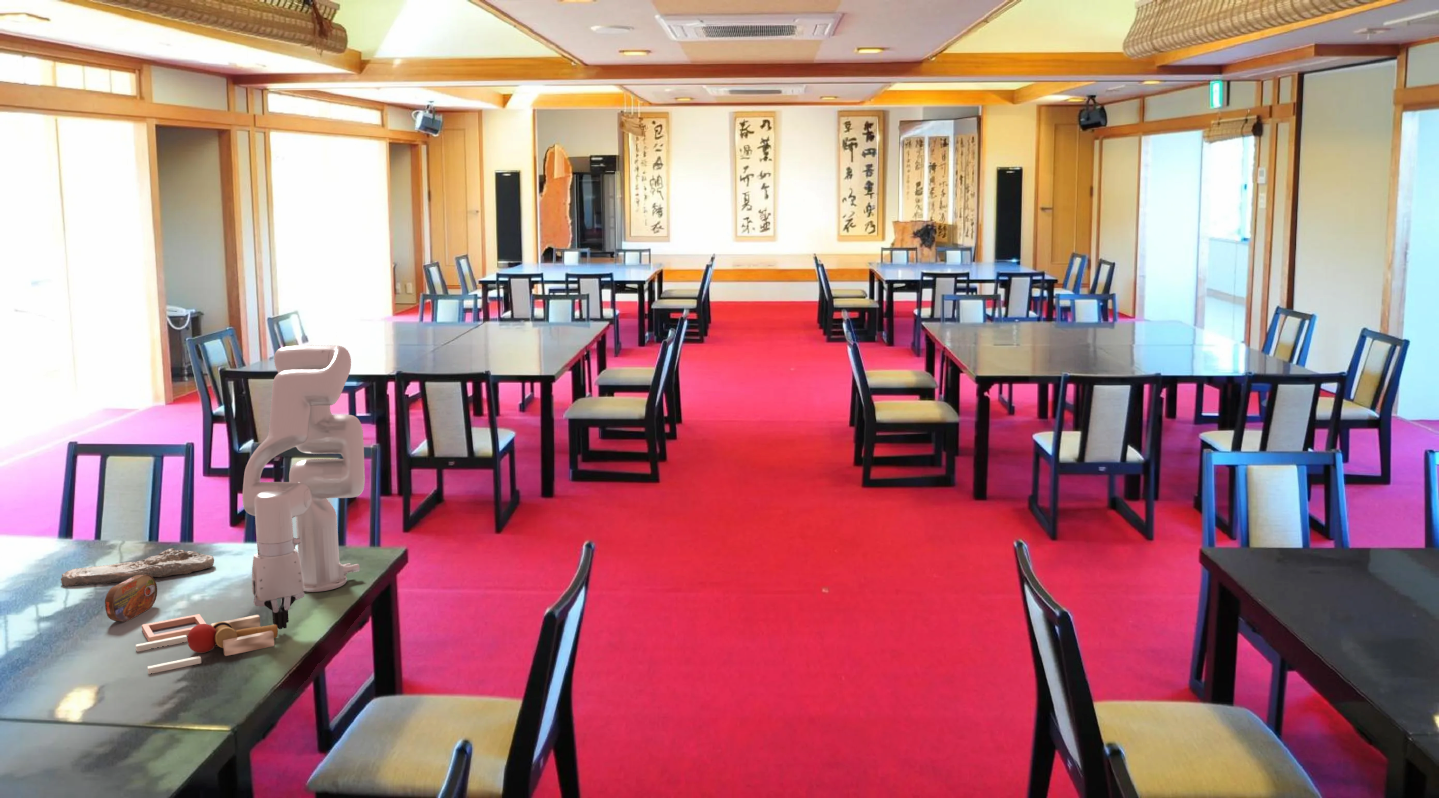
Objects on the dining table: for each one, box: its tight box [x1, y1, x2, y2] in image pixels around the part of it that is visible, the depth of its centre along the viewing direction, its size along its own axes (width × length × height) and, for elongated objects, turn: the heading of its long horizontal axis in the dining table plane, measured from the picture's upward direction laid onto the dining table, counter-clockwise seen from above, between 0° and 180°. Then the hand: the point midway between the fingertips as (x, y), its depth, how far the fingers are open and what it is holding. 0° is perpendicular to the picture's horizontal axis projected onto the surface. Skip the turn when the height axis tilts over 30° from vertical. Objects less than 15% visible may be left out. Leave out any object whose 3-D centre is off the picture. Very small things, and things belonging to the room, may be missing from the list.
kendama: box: [187, 621, 279, 654], centre depth 258 cm, size 8×6×18 cm
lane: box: [210, 614, 275, 657], centre depth 261 cm, size 10×13×3 cm
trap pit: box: [141, 613, 207, 642], centre depth 266 cm, size 12×9×2 cm
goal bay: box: [135, 635, 202, 675], centre depth 253 cm, size 10×15×1 cm, turn 34°
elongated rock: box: [60, 547, 215, 587], centre depth 304 cm, size 35×5×10 cm
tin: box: [104, 575, 158, 623], centre depth 276 cm, size 15×3×8 cm, turn 168°
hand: (281, 626), depth 265 cm, fingers closed
